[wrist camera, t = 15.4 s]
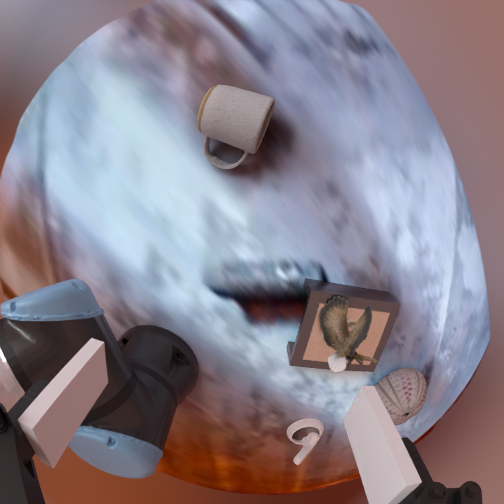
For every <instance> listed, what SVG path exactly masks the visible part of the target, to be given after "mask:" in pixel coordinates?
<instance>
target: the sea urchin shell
mask: <svg viewBox="0 0 504 504" xmlns="http://www.w3.org/2000/svg"><path fill="white" fill-rule="evenodd" d="M426 383H427V382H425V379H424V378H423V375H422V372H420V370H416V369H415V368H414V369H412V368H411V369H409V368H404V369H403V368H402V369H398V370H396V371H393V372H391V373H389V375H388V376H384V377H383V379H381V380H379V382H378V383H377V384H375V385H374V387H375V389H376V391H377V393H378V394H379V396H380V398H381V400H382V402H383V404H384V406H385V408H386V410H387V412H388V414H389V416H390V417H391V419H392V421H393V423H394V425H399V424H402V423H404V422H406V421H407V420H408V419H409V418H411V417H412V416H414V415H416V414H417V413H418V412H419V411H420V409H421V407H422V406H423V403H424V402H425V399H426V397H425V396H426Z"/></svg>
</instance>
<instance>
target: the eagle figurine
mask: <svg viewBox="0 0 504 504" xmlns="http://www.w3.org/2000/svg"><path fill="white" fill-rule="evenodd" d="M371 308H372V305H368V306H367V307H366V309H365V311H364V313H363V315H362V316H361V317H360V318H359V319H358V321H357V322H356V323H355V325H354V326H353V327H352V329H351V331H350V332H349V331H348V327H347V311H348V300H345V298H341V297H340V296H338V297H334V298H333V299H332V300H330V301H329V302H328V305H325V308H324V309H323V310H322V312H321V316H320V318H321V320H320V322H321V327H322V329H323V330H322V331H323V335H324V336H323V337H324V341H325V342H326V344H327V345H328V346H329V347H331V348H334V350H337V352H335V353H334V354H332V355H331V356H329V357H328V364H329V368H330V369H331V371H332V372H335V373H338V372H342V371H343V370H345V369H346V365H347V370H349V368H350V365H351V362H352V361H353V359H354V360H356V361H357V362H358V363H359V364H360V365H363V360H364V361H371V362H374V363H377V362H378V361H377V360H376V359H374V358H370V357H366V356H363V355H361V354H359V353H357V352H356V351H355V350H356V348H358V347H359V345H360V343H362V341H363V340H365V339H366V337H367V335H368V334H367V333H368V332H369V329H370V325H371V321H372V309H371ZM347 360H348V362H347V363H346V361H347Z"/></svg>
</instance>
